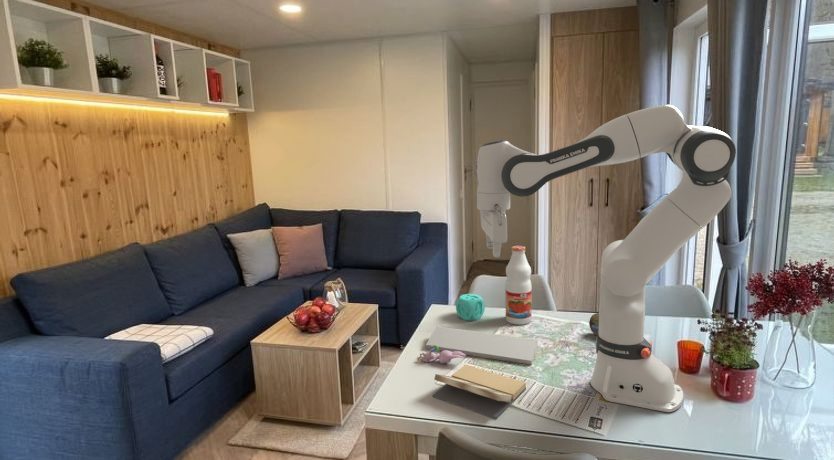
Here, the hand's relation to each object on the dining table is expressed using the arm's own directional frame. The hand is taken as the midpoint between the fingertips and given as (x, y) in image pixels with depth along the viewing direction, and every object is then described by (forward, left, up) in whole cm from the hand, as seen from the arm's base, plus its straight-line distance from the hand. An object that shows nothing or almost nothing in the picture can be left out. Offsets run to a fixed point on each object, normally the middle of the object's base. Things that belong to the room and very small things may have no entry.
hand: (493, 252), depth 132 cm
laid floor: (-1, +11, -37) cm, 38 cm away
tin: (-21, -43, -37) cm, 60 cm away
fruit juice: (+12, -42, -37) cm, 57 cm away
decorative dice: (+29, -36, -37) cm, 59 cm away
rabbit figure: (+17, +1, -37) cm, 41 cm away
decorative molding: (+11, -13, -37) cm, 41 cm away
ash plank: (-1, +15, -34) cm, 37 cm away
